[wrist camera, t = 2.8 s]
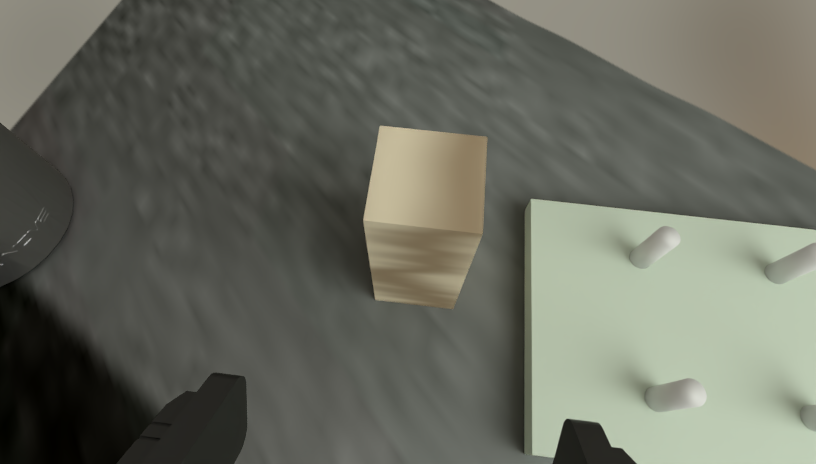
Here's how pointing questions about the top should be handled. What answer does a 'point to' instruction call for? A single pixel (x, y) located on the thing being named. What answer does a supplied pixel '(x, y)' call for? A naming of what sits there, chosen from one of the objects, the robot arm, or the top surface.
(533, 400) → the peg board
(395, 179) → the ash block
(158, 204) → the top surface
